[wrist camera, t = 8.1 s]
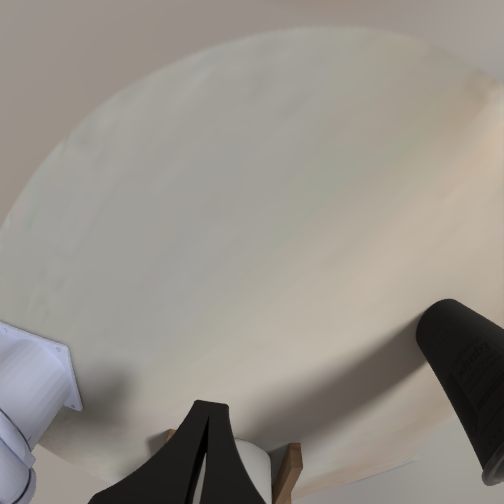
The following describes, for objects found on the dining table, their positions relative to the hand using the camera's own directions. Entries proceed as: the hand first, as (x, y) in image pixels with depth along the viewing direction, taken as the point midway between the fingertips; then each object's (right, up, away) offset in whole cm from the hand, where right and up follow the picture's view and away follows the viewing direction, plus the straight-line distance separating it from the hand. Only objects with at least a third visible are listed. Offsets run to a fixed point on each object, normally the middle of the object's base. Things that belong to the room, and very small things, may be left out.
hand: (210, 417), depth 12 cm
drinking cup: (+17, +1, +9) cm, 19 cm away
